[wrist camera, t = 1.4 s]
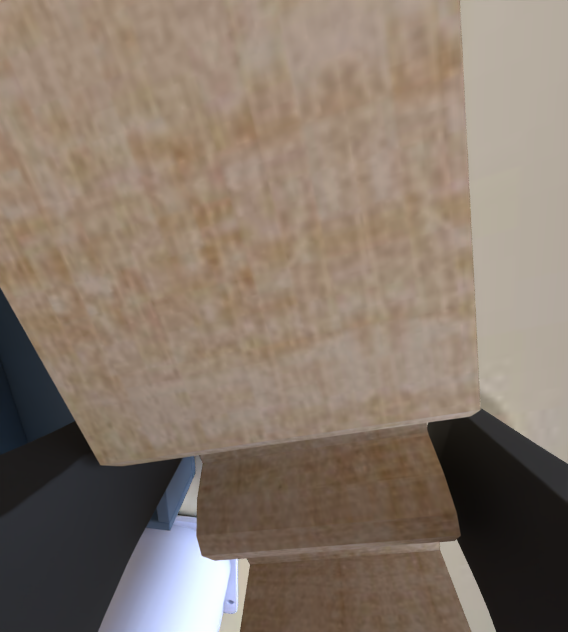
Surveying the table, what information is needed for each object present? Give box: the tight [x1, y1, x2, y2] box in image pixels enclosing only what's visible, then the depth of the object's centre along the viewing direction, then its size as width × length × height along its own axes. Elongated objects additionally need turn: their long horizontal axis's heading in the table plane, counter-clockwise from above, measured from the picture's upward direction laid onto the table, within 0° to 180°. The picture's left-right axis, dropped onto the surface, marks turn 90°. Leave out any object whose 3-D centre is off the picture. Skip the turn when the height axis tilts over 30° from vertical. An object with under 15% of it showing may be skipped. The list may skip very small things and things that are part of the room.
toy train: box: [0, 0, 481, 632], centre depth 9 cm, size 6×17×10 cm, turn 14°
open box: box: [0, 288, 195, 531], centre depth 13 cm, size 20×11×4 cm, turn 177°
